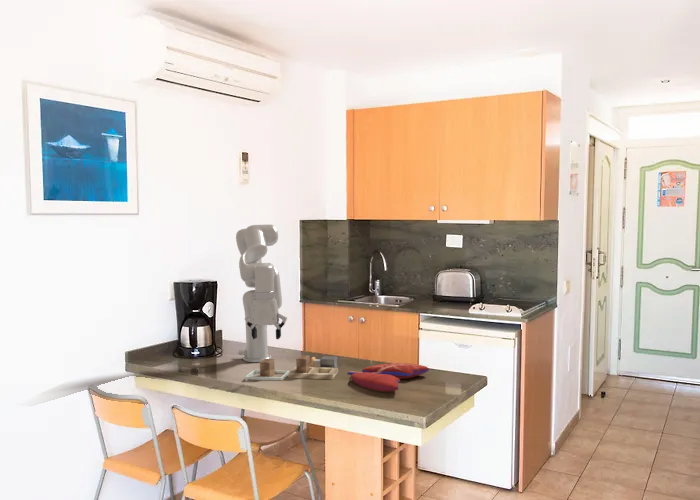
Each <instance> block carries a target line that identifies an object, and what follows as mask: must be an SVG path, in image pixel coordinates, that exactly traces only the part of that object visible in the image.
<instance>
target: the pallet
mask: <svg viewBox="0 0 700 500" xmlns="http://www.w3.org/2000/svg"><path fill="white" fill-rule="evenodd" d="M338 373H339V368H338V367H337V368H323V367H320V366H319V367H318V366H317V367H316V366H310V371H309V372H308V373H297V368H296V366H294V367H293V368H292V370H289V373H288V375H287V377H288V379H312V380H313V379H314V380H316V379H317V380H333V379H334V378H335V376H336V375H337V374H338Z"/></svg>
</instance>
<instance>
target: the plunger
mask: <svg viewBox="0 0 700 500" xmlns="http://www.w3.org/2000/svg"><path fill="white" fill-rule="evenodd" d="M320 359H321V358H320ZM320 359H318V358H316V356H312V357H311V358H310V367H315V365H320Z"/></svg>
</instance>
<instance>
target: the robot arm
mask: <svg viewBox="0 0 700 500" xmlns="http://www.w3.org/2000/svg"><path fill="white" fill-rule="evenodd" d="M235 235H236V236H235V240H236V246H237V249H238V251H239V254H240V258H239V261H238V262H239V263H238V268H239V273H240V275H239V276H240V278H241V280H242V281H243V282H244V283H245V286H246V287H247V288H250V289H251V288H252V290H247V291H245V292H244V294H243V295H242V306H243V311H244V322H245V336H246V337H245V338H246V339H245V342H246V343H245V344H246V345H245V346H246V349H238V352H237V353H238V355H241V356H242V355H243V358H242V359H243V361H244V362H247V363H260V362H261V361H262V360H264V359H272V355H271V354H269V349H268V348H269V347H268V326H274V327H275V328H276V329H275V338H276V340H280V338H281V337H282V328H283V327H284V326H285V325H286V322H287V320H288V317H286V316H285V315H282V314H281V313H280V312H279V309H281V307H282V304H283V299H282V298H283V297H282V288H281V277H280V272H279V270H278V268H277V267H275V265H274V264H273V263H271V262H262V259H263V258H264V257H265V256H266V255H267V253H268V247H271V246H274V245H275V244H277V242H278V239H279V231H278V229H277V227H276V226H275V225H273V224H253V225H249V226H247V227H246V228H241V229H240V230H237V232H236V233H235ZM280 320H282V321H281V323H280Z"/></svg>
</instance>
